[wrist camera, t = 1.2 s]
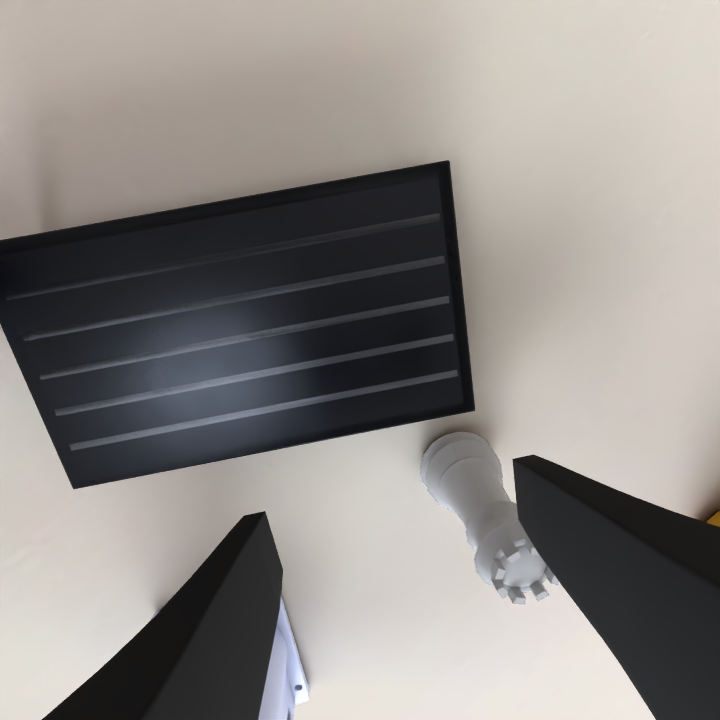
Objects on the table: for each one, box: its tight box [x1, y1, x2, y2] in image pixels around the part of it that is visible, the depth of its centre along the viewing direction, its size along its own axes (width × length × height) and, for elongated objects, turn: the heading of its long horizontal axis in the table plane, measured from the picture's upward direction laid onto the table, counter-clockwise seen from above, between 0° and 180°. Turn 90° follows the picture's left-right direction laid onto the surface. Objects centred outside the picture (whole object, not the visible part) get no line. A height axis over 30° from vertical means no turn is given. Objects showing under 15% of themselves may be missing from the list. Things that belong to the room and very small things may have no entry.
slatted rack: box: [0, 160, 475, 489], centre depth 16 cm, size 11×19×4 cm, turn 100°
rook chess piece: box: [420, 431, 559, 604], centre depth 16 cm, size 4×4×8 cm
